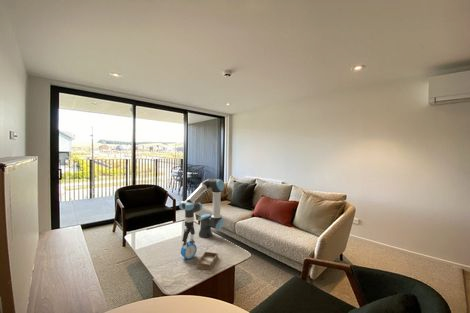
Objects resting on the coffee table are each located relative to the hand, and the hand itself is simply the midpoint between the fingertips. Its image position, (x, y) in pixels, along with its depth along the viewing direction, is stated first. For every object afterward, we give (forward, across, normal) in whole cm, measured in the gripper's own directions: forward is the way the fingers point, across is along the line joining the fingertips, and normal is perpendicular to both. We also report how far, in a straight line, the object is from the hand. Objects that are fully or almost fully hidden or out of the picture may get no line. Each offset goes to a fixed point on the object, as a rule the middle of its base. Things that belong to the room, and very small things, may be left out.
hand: (188, 244), depth 174 cm
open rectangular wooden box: (+12, +3, +19) cm, 22 cm away
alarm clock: (+12, 0, 0) cm, 12 cm away
